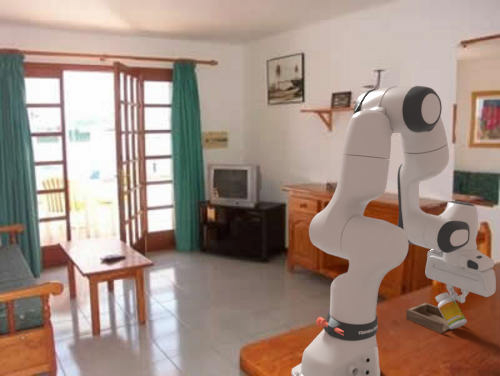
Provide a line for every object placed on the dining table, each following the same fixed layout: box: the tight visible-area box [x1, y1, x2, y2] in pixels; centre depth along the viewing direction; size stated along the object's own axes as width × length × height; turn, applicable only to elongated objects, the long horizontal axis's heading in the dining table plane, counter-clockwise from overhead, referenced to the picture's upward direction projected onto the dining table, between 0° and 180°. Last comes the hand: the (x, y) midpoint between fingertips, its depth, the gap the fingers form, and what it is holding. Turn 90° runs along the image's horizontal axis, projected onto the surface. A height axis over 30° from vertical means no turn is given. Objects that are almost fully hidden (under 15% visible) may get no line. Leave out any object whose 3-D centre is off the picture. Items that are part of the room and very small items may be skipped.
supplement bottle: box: [435, 291, 468, 330], centre depth 135 cm, size 5×5×10 cm
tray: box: [405, 302, 451, 334], centre depth 139 cm, size 10×12×3 cm
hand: (457, 300), depth 133 cm, fingers closed
